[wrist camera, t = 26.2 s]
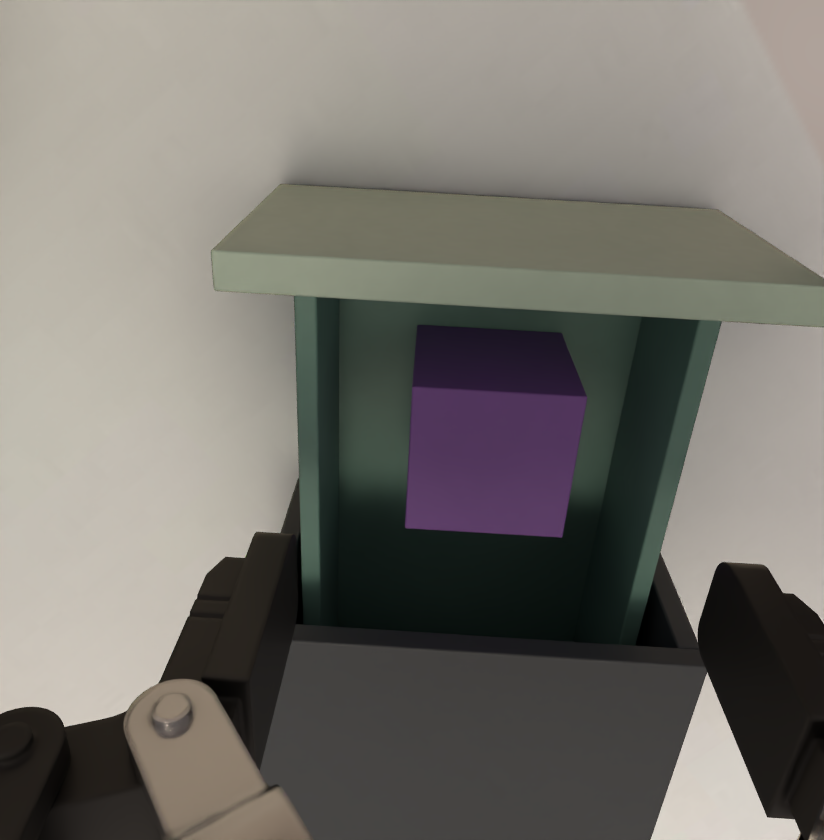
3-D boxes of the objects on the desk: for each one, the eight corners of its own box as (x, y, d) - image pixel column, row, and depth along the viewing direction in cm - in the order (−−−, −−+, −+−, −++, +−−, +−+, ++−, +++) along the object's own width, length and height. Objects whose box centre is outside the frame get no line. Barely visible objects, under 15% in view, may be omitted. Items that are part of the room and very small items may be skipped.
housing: (297, 476, 24) (245, 638, 18) (638, 498, 24) (709, 667, 18) (305, 758, 31) (270, 948, 24) (572, 775, 30) (606, 970, 24)
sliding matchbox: (279, 183, 19) (172, 285, 12) (719, 209, 19) (903, 329, 12) (300, 785, 31) (254, 1033, 23) (573, 803, 31) (616, 1058, 23)
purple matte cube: (562, 332, 20) (587, 397, 17) (543, 456, 22) (562, 538, 18) (417, 324, 20) (412, 386, 17) (410, 448, 22) (404, 529, 18)
